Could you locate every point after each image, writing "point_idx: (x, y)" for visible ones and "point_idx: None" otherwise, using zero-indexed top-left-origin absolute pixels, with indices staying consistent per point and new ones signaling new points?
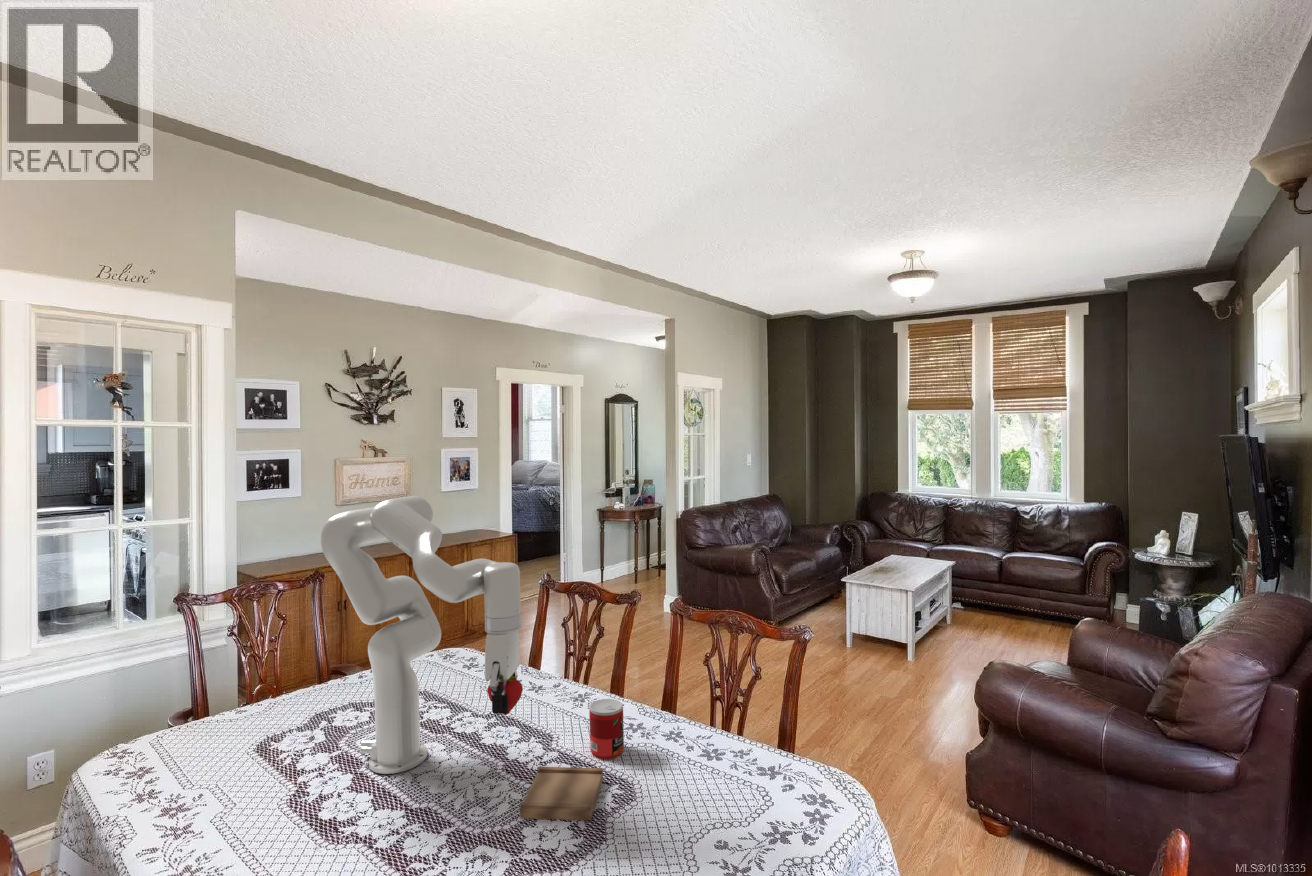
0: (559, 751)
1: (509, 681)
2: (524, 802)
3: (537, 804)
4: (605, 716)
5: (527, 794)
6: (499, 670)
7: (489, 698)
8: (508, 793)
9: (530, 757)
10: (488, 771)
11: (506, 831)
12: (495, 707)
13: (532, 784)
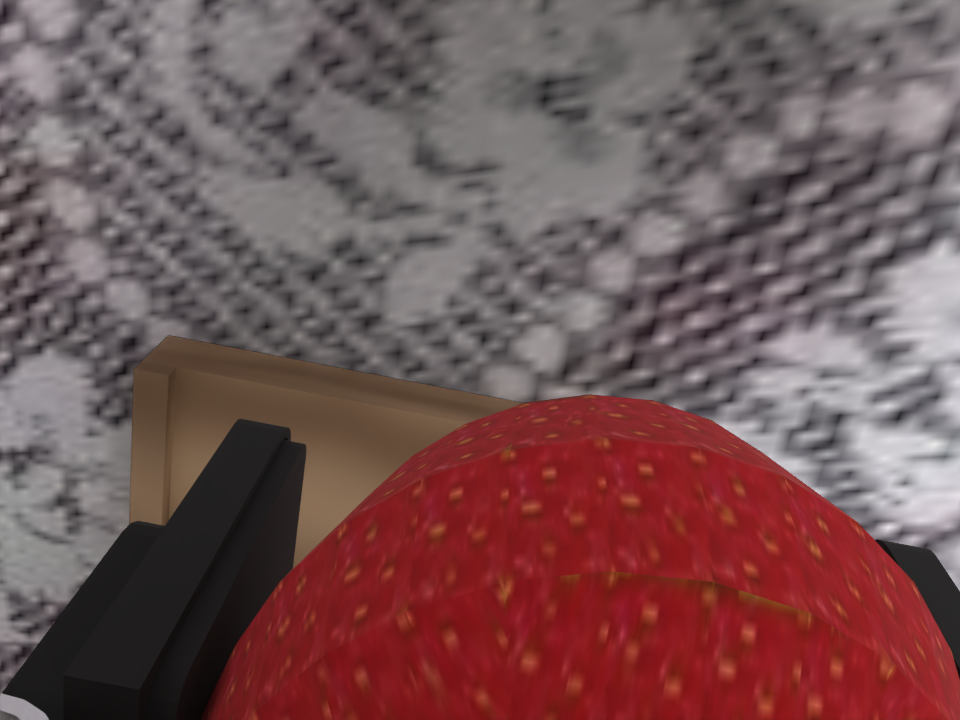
0: (955, 532)
1: None
2: (163, 394)
3: (140, 473)
4: None
5: (299, 393)
6: None
7: (522, 409)
8: (455, 229)
9: (936, 340)
10: (809, 22)
11: (38, 265)
12: (109, 557)
13: (417, 418)
